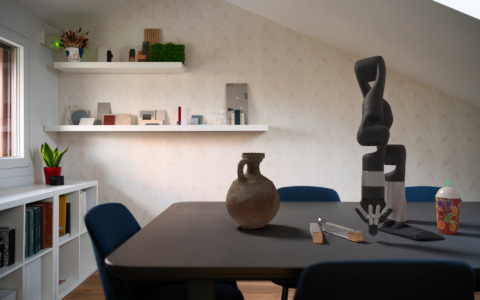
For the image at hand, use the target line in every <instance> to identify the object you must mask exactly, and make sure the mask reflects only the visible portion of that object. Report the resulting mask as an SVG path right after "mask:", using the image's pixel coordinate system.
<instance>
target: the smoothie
mask: <svg viewBox="0 0 480 300" xmlns="http://www.w3.org/2000/svg"><path fill="white" fill-rule="evenodd" d="M449 180H450V179H448V178H446V186H443V187H441V188H439V189H438V191H437V192H436V194H435V195H434V196H435V197H434V198H435V209H436V211H435V213H436V227H437V230H438V232H439V233H440V234H442V235H456V234H457V232H458V231H459V226H460V225H459V222H460V214H461V213H460V211H461V198H462V196H460V194H459V191H457V189H456V188H454V187H452V186H449V185H450V181H449Z"/></svg>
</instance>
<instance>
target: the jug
mask: <svg viewBox="0 0 480 300" xmlns="http://www.w3.org/2000/svg"><path fill="white" fill-rule="evenodd" d="M241 158H242V159H240V160H239V161H238V163H237V169H236V174H237V178H236V179H234V180H232V182H231V184H230V185H229V188H228V190H227V193H226V196H225V197H226V198H225V207H226V211H227V213H228V215H229V216H230V217H231V219H232V220H233V221H234V222H235V223H237V224H238V225H240V228H241V229H245V230H250V229H253V230H254V229H260V228H264V227H265V226H266V225H268V224H270V222H271V221H273V220H274V219H275V217H276V216H277V214H278V212H279V210H280V207H281V206H280V205H281V198H280V195H279V192H278V189H277V187H276V186H275V184H274V182H273V181H272V180H271V179H269V178H268V177H267V176H265V175H264V174H262V173H261V170H260V165H261V163H263V160H264V159H265V158H266V153H265V152H253V151H251V152H242V153H241ZM245 165H246V171H245V173H244V169H245Z"/></svg>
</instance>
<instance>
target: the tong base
mask: <svg viewBox="0 0 480 300" xmlns="http://www.w3.org/2000/svg"><path fill="white" fill-rule="evenodd" d="M324 222H327V218H326V217H317V222H310V223H309V226H310V227H309V232H310V235H311V237H312V242H313V244H323V231H322V223H324Z"/></svg>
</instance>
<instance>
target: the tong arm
mask: <svg viewBox="0 0 480 300" xmlns="http://www.w3.org/2000/svg"><path fill="white" fill-rule="evenodd" d="M321 232H326V233H328V234H332V235H335V236H338V237H340V238H344V239H347V240H349V241H353V242H356V243H358V242H364V241H363V240H364V232H363V231H362V230H361V231H360V230H357V229H353V228H349V227H346V226H343V225H339V224H335V223H332V222H327V221H326V222H324V223H322V231H321Z"/></svg>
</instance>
